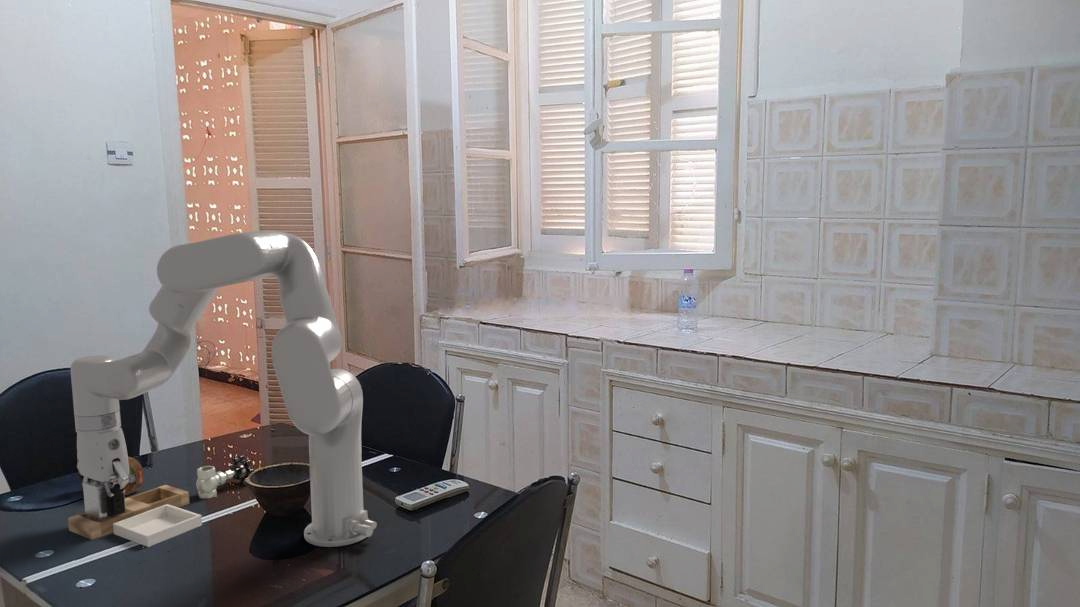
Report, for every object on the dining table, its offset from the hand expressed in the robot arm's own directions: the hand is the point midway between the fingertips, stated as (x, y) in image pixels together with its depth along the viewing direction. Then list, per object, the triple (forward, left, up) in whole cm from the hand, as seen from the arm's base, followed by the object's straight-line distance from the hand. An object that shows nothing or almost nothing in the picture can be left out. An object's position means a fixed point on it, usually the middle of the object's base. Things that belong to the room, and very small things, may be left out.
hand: (105, 509), depth 147 cm
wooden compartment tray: (0, -5, -4) cm, 6 cm away
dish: (-10, -4, -4) cm, 12 cm away
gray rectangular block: (0, 0, -3) cm, 3 cm away
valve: (-3, -24, -4) cm, 24 cm away
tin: (+17, -11, -4) cm, 21 cm away
